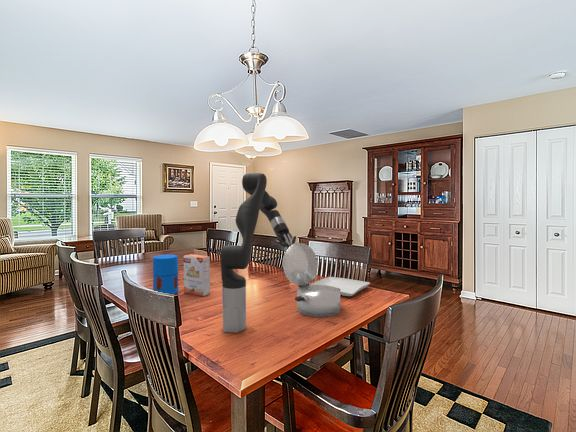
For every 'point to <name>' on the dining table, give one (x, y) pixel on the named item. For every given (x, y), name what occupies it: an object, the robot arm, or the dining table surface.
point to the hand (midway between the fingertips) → (292, 252)
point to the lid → (300, 264)
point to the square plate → (343, 285)
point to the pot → (318, 300)
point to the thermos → (165, 274)
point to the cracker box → (197, 274)
